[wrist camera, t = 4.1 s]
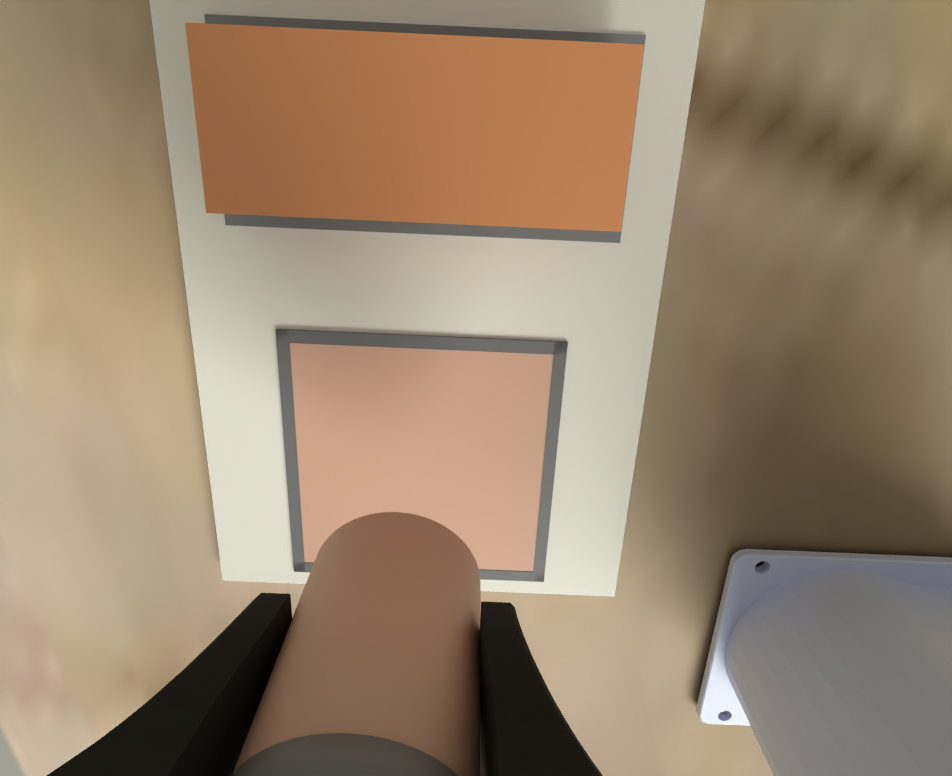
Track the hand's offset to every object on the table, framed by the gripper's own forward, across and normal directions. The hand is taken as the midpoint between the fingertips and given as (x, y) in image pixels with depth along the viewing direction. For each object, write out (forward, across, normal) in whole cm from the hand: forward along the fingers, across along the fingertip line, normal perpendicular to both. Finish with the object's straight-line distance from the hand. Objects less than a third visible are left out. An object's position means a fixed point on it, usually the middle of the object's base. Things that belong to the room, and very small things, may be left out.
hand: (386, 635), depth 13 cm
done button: (+7, 0, -10) cm, 12 cm away
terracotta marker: (+2, 0, 0) cm, 2 cm away
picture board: (+8, 0, -5) cm, 10 cm away
